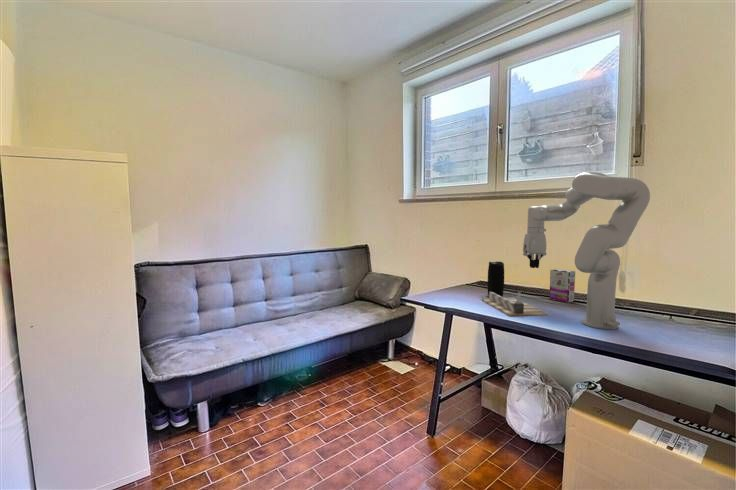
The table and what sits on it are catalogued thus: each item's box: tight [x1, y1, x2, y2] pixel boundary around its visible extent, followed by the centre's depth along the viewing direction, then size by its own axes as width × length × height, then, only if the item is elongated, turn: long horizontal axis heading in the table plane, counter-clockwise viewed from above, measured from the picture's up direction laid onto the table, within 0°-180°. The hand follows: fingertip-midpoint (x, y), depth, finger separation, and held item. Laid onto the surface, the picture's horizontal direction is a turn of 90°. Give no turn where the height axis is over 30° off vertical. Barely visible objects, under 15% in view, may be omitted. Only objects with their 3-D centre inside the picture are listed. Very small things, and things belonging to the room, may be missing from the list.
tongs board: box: [481, 292, 548, 317], centre depth 169 cm, size 30×18×5 cm, turn 5°
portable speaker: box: [487, 261, 505, 297], centre depth 190 cm, size 9×9×20 cm
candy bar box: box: [549, 268, 576, 304], centre depth 182 cm, size 11×5×16 cm, turn 25°
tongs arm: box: [516, 291, 522, 303], centre depth 168 cm, size 25×2×4 cm, turn 155°
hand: (534, 267), depth 172 cm, fingers closed
